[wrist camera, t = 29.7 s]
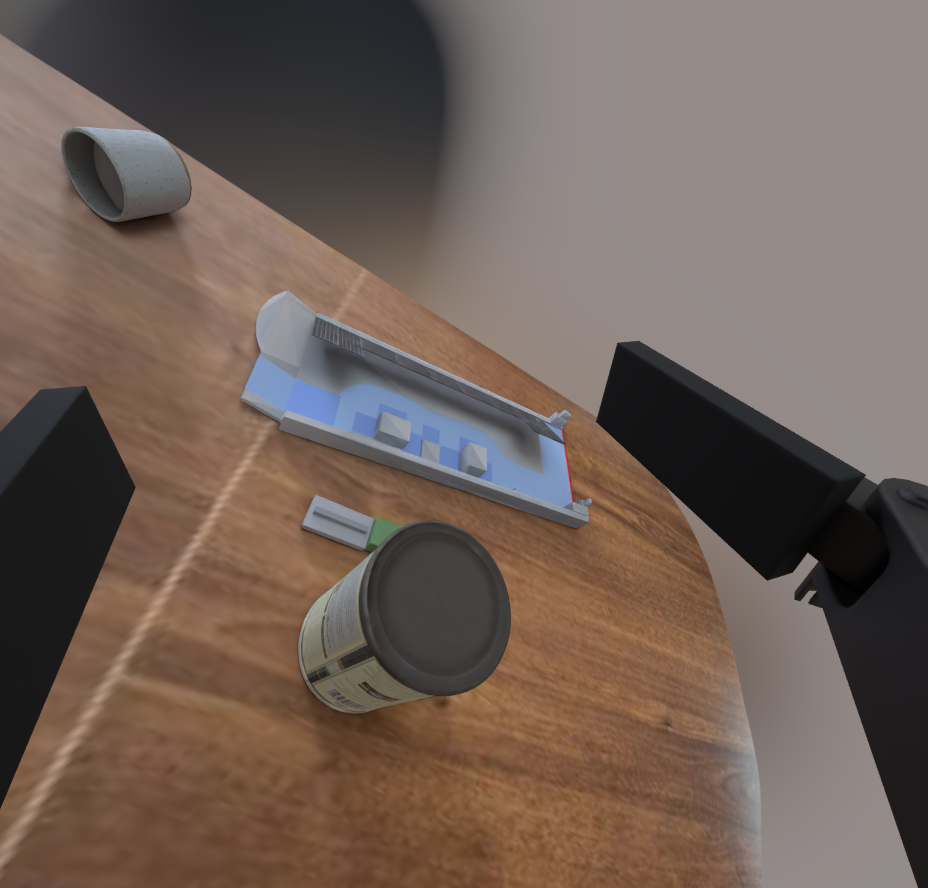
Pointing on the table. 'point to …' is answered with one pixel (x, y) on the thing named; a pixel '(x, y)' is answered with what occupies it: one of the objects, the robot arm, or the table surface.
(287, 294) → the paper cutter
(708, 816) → the table surface
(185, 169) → the ceramic mug
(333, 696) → the coffee can
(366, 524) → the green peeler
